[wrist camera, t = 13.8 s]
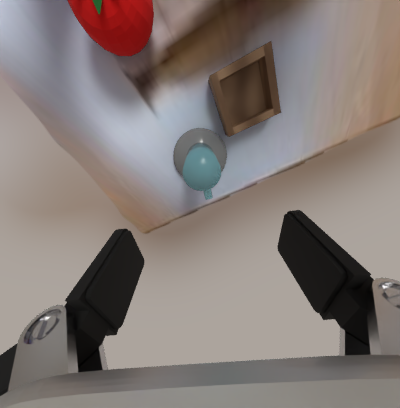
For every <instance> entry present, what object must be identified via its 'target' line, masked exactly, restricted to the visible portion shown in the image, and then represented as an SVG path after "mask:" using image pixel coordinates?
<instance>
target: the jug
mask: <svg viewBox="0 0 400 408" xmlns="http://www.w3.org/2000/svg"><path fill="white" fill-rule="evenodd" d="M220 177H221V167H220V164H219V162H218V160H217V158H216V156H215V154H214V152H213V150H212V148H211V147H210V146H209V145H207V144H205V143H196V144H194V145H192V146H191V147H190V148H189V150H188V152H187V156H186V159H185V163H184V167H183V178H184V180H185V182H186V183H187V185H188V186H190V187H191V188H193V189H195V190H199V191H204V195H205V199H211V198H213V197H212V193H211V188H213V187H214V186H215V185H216V184H217V183H218V181H219V179H220Z"/></svg>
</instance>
